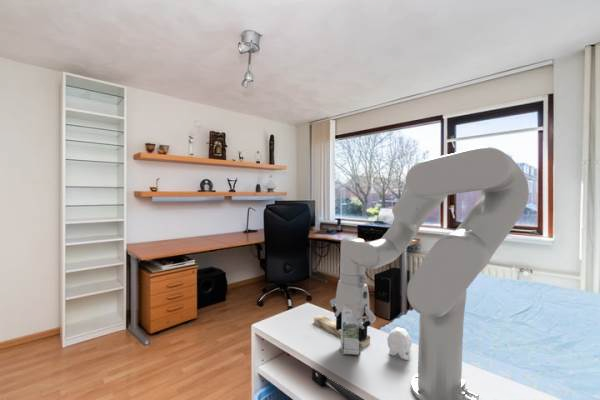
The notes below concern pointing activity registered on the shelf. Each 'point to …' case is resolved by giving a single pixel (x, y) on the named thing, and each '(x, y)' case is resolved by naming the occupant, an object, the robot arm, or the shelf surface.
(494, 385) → the shelf surface
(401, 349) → the white figurine
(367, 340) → the plank
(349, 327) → the syrup box
